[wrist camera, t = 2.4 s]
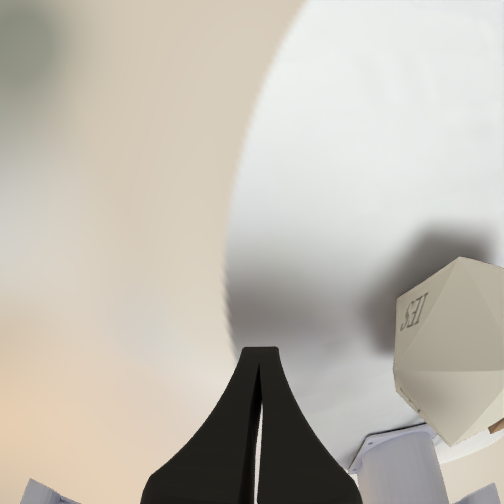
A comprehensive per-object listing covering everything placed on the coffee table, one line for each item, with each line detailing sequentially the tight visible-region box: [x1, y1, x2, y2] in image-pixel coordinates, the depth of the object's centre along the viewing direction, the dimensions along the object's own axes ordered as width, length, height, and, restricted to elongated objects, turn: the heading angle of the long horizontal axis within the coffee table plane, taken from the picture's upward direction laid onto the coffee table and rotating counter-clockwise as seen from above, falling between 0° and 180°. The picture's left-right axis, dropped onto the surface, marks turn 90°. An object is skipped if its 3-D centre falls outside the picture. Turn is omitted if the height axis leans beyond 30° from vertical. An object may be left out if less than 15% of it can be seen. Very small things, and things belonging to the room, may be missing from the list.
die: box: [393, 256, 504, 447], centre depth 11 cm, size 8×9×10 cm
